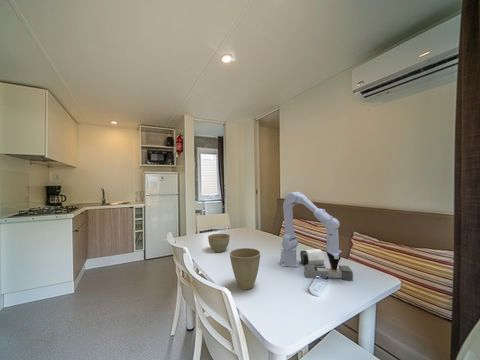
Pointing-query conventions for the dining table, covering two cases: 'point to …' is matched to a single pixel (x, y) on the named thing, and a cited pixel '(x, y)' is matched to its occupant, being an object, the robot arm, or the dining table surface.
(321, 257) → the jar
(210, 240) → the planter bowl
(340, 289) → the dining table surface
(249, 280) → the plant pot
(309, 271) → the sleeve
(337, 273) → the slab with tan knob
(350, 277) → the dark gray rectangular block
